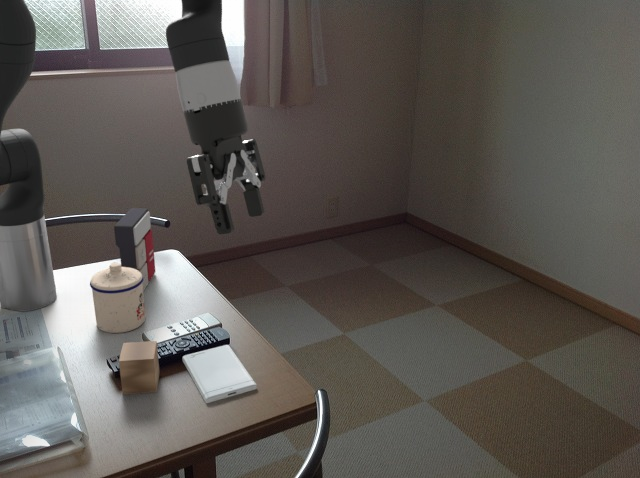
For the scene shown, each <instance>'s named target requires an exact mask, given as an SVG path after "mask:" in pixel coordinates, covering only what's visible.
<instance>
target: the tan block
mask: <svg viewBox="0 0 640 478" xmlns="http://www.w3.org/2000/svg"><path fill="white" fill-rule="evenodd" d="M158 353H159V352H158V340H149V341H133V342H123V343H122V348H121V351H120V355H119V359H118V366H119V367H118V368H119V375H120V382H121V391H122V395H133V394H145V393H157V392H158V385H159V379H160V364H159V354H158Z"/></svg>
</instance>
